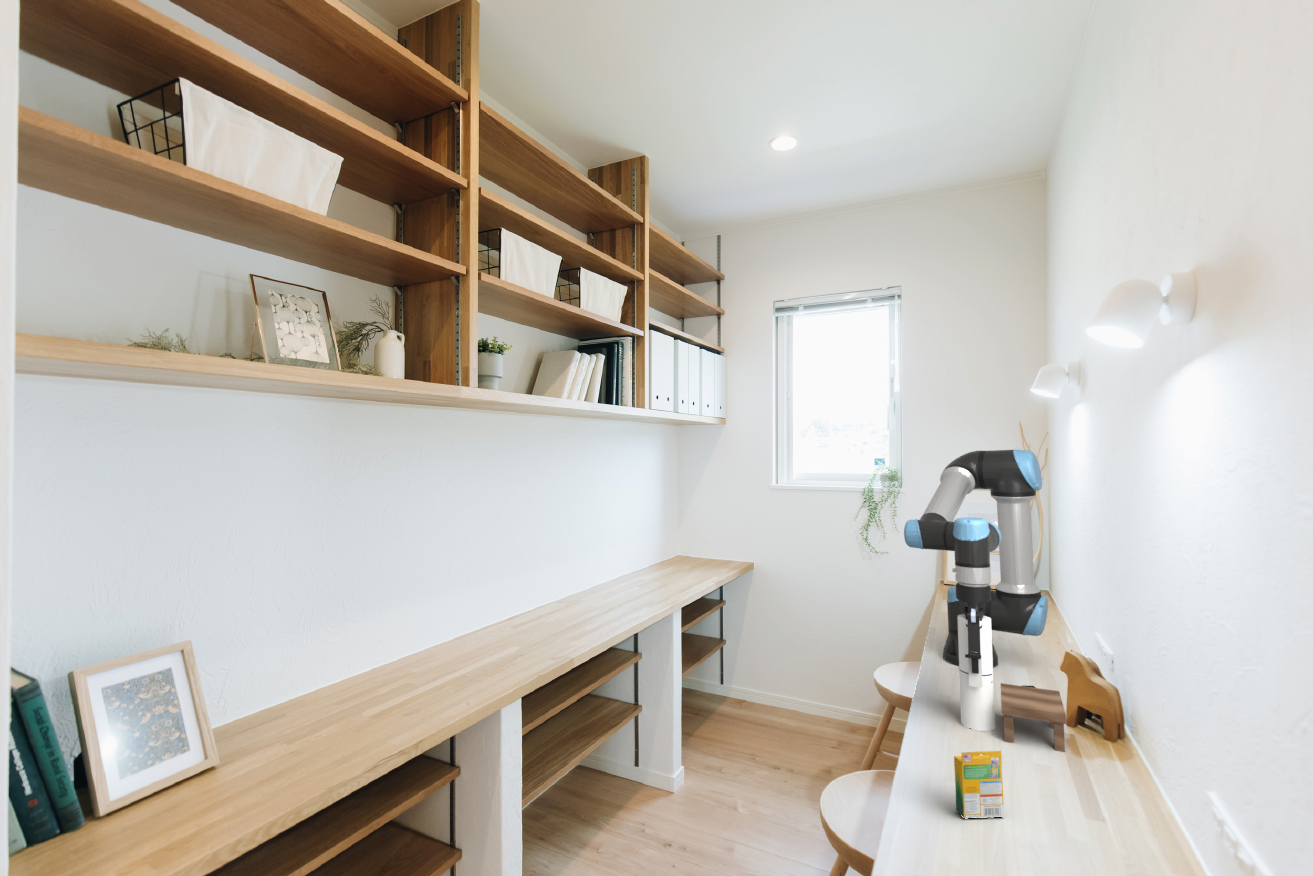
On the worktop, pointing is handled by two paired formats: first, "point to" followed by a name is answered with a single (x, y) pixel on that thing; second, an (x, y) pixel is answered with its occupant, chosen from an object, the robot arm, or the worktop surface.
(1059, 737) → the brown flat-topped stand
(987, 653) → the cylindrical container
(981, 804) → the crayon box
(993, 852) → the worktop surface
